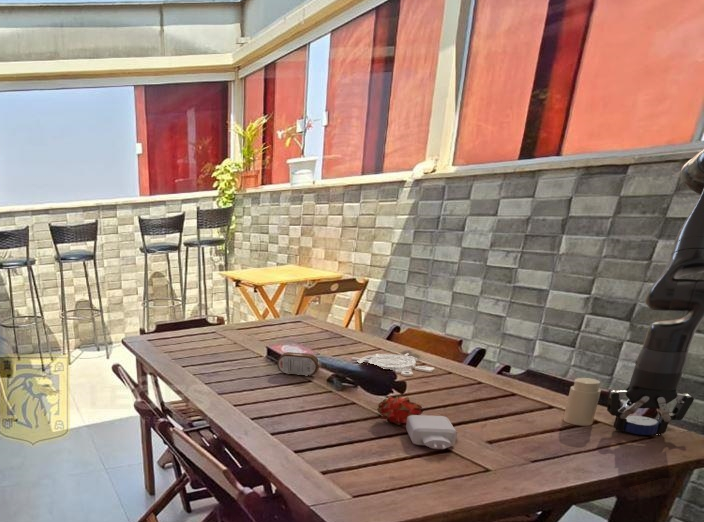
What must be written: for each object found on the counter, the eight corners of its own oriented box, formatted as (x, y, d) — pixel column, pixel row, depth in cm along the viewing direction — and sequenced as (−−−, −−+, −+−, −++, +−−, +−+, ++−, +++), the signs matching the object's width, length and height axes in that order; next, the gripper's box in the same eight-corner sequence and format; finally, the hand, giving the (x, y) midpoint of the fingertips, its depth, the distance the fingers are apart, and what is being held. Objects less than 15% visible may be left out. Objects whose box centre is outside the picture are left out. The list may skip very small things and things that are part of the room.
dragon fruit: (371, 426, 140) (416, 431, 138) (382, 419, 132) (431, 425, 130) (371, 398, 142) (416, 402, 140) (383, 390, 134) (431, 394, 132)
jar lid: (632, 435, 116) (635, 425, 115) (614, 425, 122) (616, 415, 121) (664, 435, 115) (667, 425, 114) (644, 424, 120) (646, 415, 119)
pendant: (404, 352, 195) (404, 349, 195) (442, 373, 169) (442, 370, 169) (348, 357, 198) (348, 353, 198) (376, 378, 172) (377, 374, 172)
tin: (319, 375, 181) (320, 353, 178) (316, 378, 179) (317, 356, 176) (278, 371, 190) (279, 351, 187) (276, 374, 188) (276, 353, 185)
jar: (564, 415, 131) (574, 376, 127) (593, 420, 127) (604, 379, 123) (561, 422, 127) (570, 382, 123) (591, 427, 123) (602, 385, 119)
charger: (416, 455, 119) (405, 430, 132) (461, 458, 116) (445, 432, 129) (419, 438, 118) (407, 414, 131) (464, 440, 114) (448, 416, 127)
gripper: (622, 370, 113) (603, 435, 119) (713, 373, 106) (687, 443, 112) (610, 360, 119) (592, 423, 125) (695, 363, 112) (672, 429, 118)
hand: (637, 432), depth 119 cm, fingers closed on jar lid, 6 cm apart
